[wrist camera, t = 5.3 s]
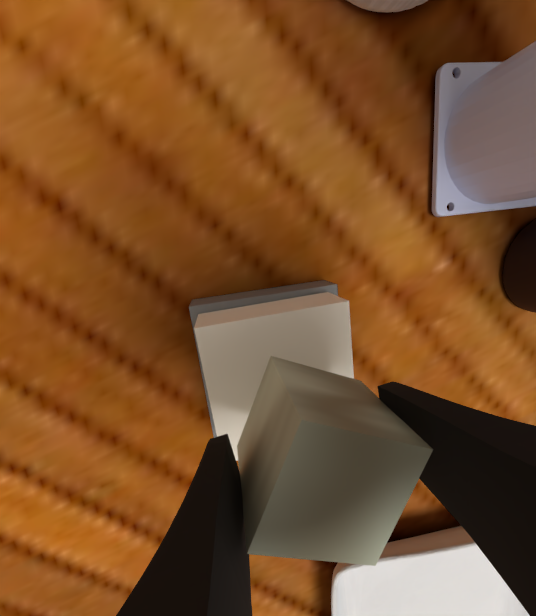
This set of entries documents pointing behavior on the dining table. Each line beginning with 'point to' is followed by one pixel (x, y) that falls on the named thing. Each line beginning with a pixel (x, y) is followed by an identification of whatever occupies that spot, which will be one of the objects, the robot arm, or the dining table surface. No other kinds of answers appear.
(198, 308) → the charcoal slab
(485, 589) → the salad plate
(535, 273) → the bottle
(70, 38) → the dining table surface
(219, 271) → the dining table surface
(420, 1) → the ramekin
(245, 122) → the dining table surface
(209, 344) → the cream slab
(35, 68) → the dining table surface
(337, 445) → the sage cube
